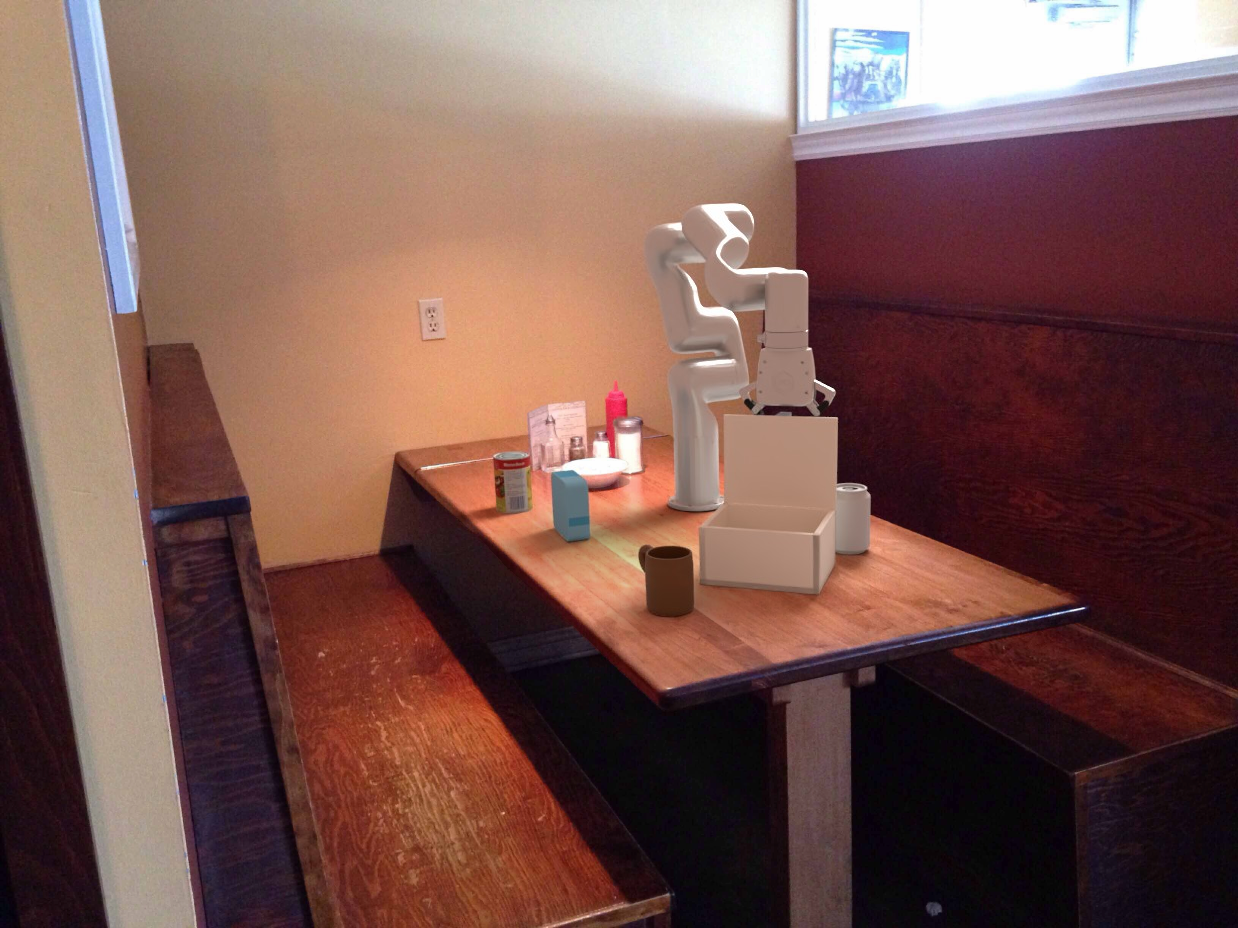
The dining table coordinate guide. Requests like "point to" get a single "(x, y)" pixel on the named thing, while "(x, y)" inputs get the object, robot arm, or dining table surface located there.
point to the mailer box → (768, 547)
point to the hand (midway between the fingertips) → (786, 435)
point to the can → (852, 519)
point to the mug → (668, 579)
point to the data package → (570, 505)
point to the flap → (780, 460)
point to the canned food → (513, 482)
